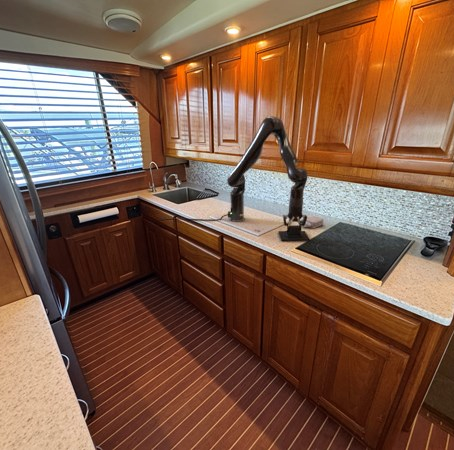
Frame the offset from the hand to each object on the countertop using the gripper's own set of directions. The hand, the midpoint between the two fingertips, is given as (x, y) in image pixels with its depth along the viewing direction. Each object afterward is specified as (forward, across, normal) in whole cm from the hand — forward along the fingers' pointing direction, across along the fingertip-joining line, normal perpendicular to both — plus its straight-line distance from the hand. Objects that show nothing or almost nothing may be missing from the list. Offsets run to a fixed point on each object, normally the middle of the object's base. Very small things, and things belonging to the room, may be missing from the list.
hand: (293, 231), depth 140 cm
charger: (+3, -14, -16) cm, 22 cm away
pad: (+1, 0, 0) cm, 1 cm away
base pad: (+3, 0, 0) cm, 3 cm away
